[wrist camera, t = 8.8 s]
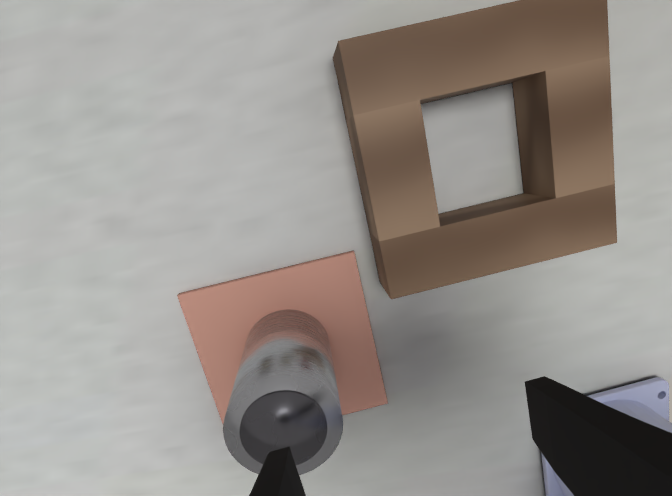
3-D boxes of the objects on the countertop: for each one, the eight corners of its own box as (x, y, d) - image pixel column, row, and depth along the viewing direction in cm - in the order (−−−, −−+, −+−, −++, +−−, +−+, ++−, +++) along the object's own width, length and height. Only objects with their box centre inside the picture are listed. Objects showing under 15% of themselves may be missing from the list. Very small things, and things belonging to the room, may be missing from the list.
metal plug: (333, 379, 20) (348, 470, 15) (252, 391, 20) (233, 489, 14) (325, 304, 19) (337, 369, 13) (239, 315, 19) (212, 387, 13)
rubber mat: (386, 399, 21) (387, 403, 21) (231, 440, 21) (230, 444, 21) (353, 250, 19) (354, 251, 19) (178, 293, 19) (177, 295, 19)
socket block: (579, 232, 20) (617, 242, 18) (379, 282, 20) (391, 299, 17) (563, 5, 17) (606, -20, 15) (332, 57, 17) (338, 41, 15)
